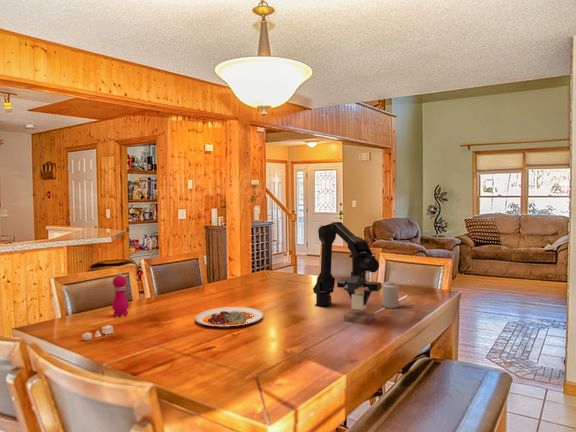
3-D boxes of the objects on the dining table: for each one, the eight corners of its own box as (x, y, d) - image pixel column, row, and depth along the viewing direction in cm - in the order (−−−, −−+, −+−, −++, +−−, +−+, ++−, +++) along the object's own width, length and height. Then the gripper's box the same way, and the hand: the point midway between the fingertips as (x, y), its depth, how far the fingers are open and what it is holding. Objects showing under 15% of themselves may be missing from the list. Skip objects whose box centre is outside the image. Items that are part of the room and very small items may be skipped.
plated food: (271, 312, 211) (271, 305, 211) (249, 332, 182) (249, 324, 182) (213, 309, 219) (212, 302, 219) (182, 327, 190) (182, 319, 190)
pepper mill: (132, 314, 212) (130, 271, 210) (120, 318, 205) (119, 274, 204) (120, 312, 215) (119, 271, 214) (109, 316, 208) (107, 273, 207)
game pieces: (108, 332, 185) (108, 325, 185) (113, 334, 183) (113, 326, 183) (80, 341, 175) (80, 332, 175) (85, 342, 173) (85, 334, 173)
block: (351, 308, 195) (351, 294, 195) (356, 305, 200) (355, 292, 199) (362, 309, 193) (362, 296, 192) (366, 307, 197) (366, 293, 197)
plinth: (344, 322, 195) (343, 315, 195) (353, 316, 203) (353, 309, 203) (365, 325, 189) (365, 318, 189) (374, 319, 198) (374, 312, 198)
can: (399, 309, 212) (398, 284, 212) (382, 308, 214) (382, 283, 213) (398, 305, 220) (398, 280, 219) (382, 304, 221) (382, 280, 220)
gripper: (331, 270, 193) (331, 306, 194) (372, 273, 183) (372, 311, 184) (342, 266, 203) (342, 300, 204) (382, 269, 193) (382, 305, 194)
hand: (359, 304), depth 196 cm, fingers closed on block, 5 cm apart
